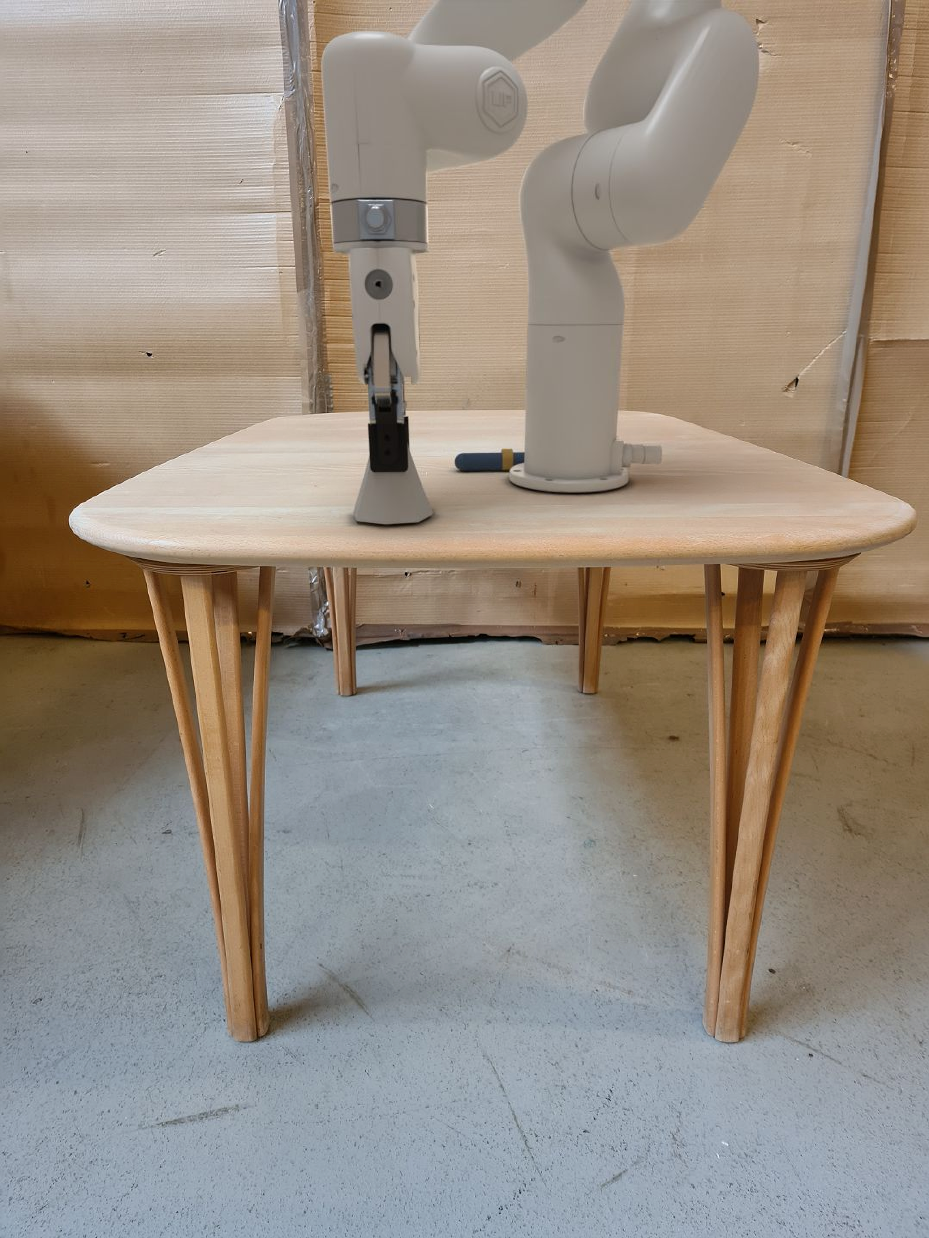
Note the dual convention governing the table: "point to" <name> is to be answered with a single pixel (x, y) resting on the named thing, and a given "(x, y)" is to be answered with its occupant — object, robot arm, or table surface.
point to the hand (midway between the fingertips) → (390, 464)
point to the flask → (392, 496)
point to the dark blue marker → (489, 460)
